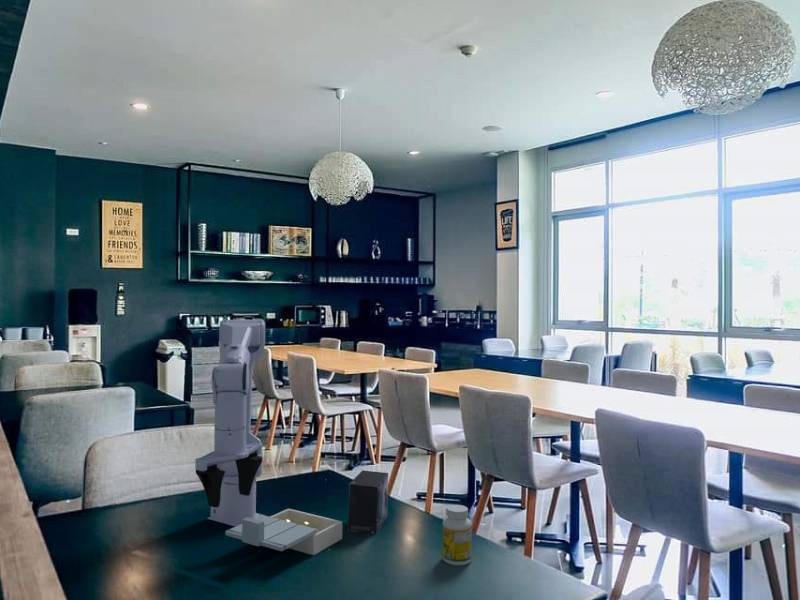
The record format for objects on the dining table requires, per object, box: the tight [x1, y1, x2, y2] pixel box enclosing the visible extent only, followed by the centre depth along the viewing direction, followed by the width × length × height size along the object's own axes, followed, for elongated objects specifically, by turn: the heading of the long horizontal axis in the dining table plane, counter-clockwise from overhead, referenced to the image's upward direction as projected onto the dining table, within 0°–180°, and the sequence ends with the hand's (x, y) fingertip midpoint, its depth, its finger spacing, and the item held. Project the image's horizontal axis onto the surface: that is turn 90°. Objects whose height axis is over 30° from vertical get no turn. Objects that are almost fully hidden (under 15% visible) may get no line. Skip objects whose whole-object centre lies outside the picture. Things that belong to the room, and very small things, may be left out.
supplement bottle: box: [442, 504, 473, 567], centre depth 110 cm, size 5×5×10 cm
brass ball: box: [298, 521, 312, 528], centre depth 118 cm, size 3×3×3 cm
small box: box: [347, 470, 389, 535], centre depth 126 cm, size 11×6×10 cm, turn 168°
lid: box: [224, 514, 317, 552], centre depth 110 cm, size 14×10×4 cm
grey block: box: [269, 508, 343, 556], centre depth 118 cm, size 14×9×4 cm, turn 59°
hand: (229, 500), depth 111 cm, fingers open, 7 cm apart
